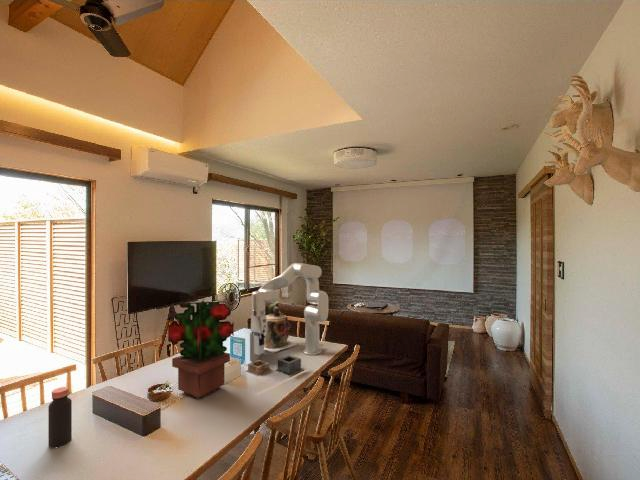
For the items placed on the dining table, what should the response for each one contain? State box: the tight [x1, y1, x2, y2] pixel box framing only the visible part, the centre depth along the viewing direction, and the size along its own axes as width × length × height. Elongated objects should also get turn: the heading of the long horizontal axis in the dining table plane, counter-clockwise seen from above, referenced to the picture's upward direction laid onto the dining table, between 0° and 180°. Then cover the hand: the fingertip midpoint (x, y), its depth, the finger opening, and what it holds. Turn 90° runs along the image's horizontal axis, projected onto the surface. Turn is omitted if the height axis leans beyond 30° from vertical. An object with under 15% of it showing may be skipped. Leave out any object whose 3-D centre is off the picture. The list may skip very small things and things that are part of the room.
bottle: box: [47, 386, 73, 449], centre depth 120 cm, size 7×7×20 cm
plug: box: [254, 332, 265, 356], centre depth 184 cm, size 4×4×12 cm
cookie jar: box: [264, 300, 299, 354], centre depth 231 cm, size 25×25×32 cm
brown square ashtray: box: [245, 359, 272, 377], centre depth 184 cm, size 11×11×5 cm
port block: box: [274, 354, 305, 378], centre depth 185 cm, size 12×12×7 cm
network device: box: [249, 331, 267, 362], centre depth 207 cm, size 26×9×20 cm, turn 179°
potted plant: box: [167, 298, 235, 400], centre depth 161 cm, size 22×22×45 cm
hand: (258, 343), depth 184 cm, fingers closed on plug, 4 cm apart
